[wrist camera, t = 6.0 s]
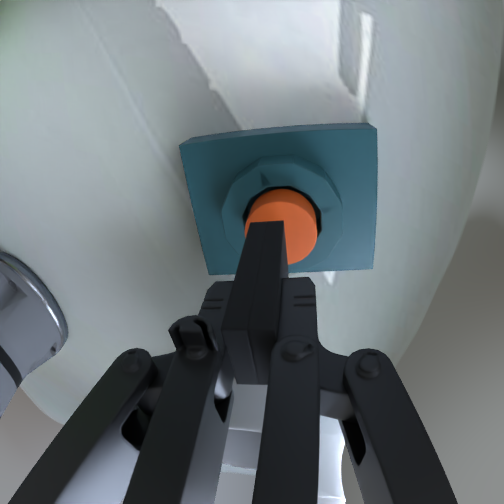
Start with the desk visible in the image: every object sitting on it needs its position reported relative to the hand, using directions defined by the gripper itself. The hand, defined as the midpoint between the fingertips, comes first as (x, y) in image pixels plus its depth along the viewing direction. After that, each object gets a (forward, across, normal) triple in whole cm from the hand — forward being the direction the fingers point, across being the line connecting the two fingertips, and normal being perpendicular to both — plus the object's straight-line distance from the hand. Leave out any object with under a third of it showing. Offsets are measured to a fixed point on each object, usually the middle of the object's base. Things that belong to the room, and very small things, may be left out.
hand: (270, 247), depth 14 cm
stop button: (+3, 0, 0) cm, 3 cm away
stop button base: (+7, 0, 0) cm, 7 cm away
